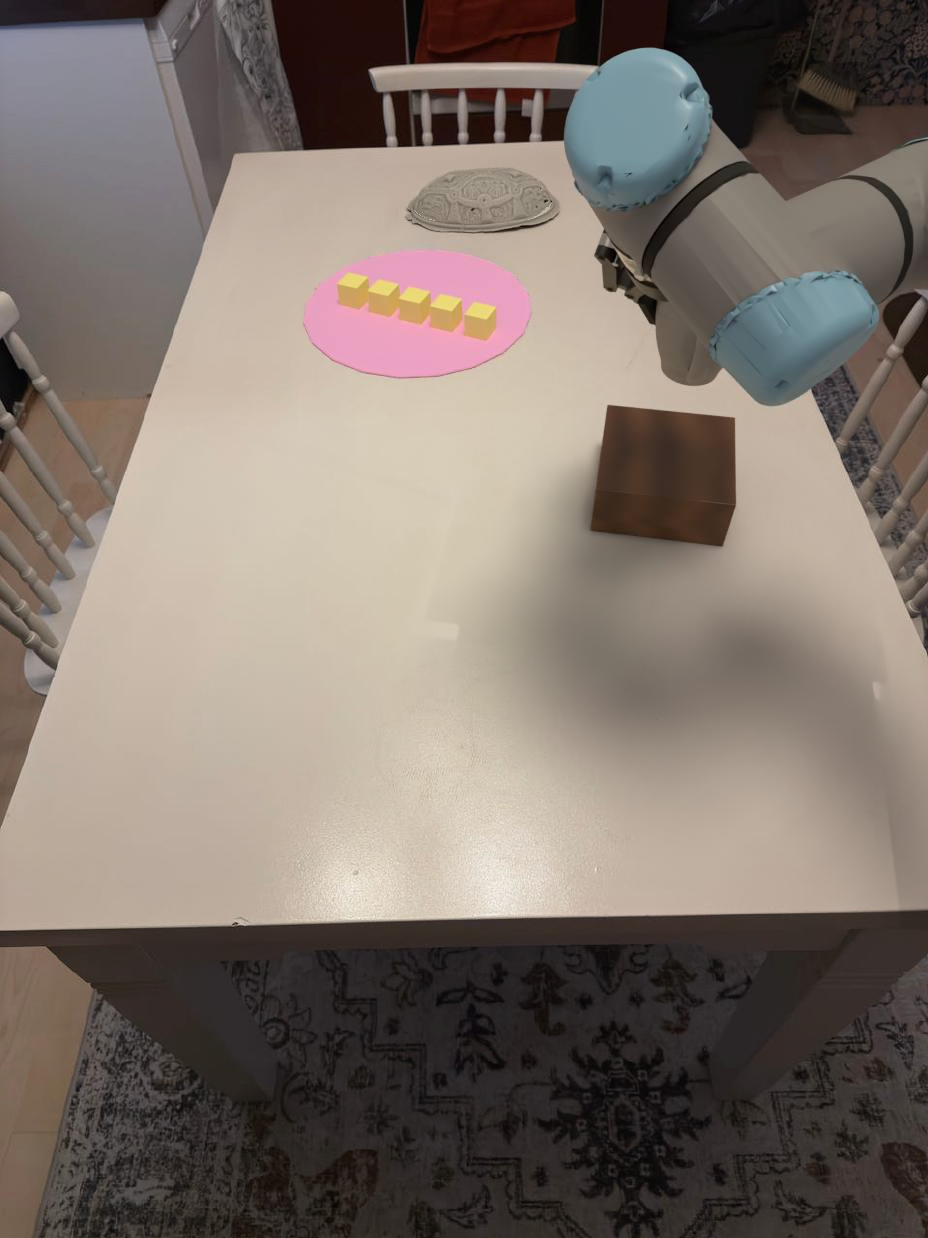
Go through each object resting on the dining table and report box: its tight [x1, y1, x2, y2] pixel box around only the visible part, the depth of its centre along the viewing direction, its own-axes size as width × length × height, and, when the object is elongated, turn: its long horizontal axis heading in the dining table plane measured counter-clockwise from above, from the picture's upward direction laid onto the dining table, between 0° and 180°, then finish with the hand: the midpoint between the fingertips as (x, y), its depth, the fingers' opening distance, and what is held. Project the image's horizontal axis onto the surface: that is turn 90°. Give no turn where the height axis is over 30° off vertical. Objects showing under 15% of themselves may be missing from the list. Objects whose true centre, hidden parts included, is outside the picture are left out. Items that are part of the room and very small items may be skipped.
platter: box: [303, 249, 532, 379], centre depth 116 cm, size 32×32×3 cm
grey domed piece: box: [405, 166, 561, 233], centre depth 133 cm, size 16×25×7 cm, turn 92°
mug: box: [654, 300, 723, 387], centre depth 75 cm, size 12×9×10 cm
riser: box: [589, 404, 737, 547], centre depth 91 cm, size 14×14×6 cm
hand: (706, 324), depth 77 cm, fingers closed on mug, 9 cm apart
